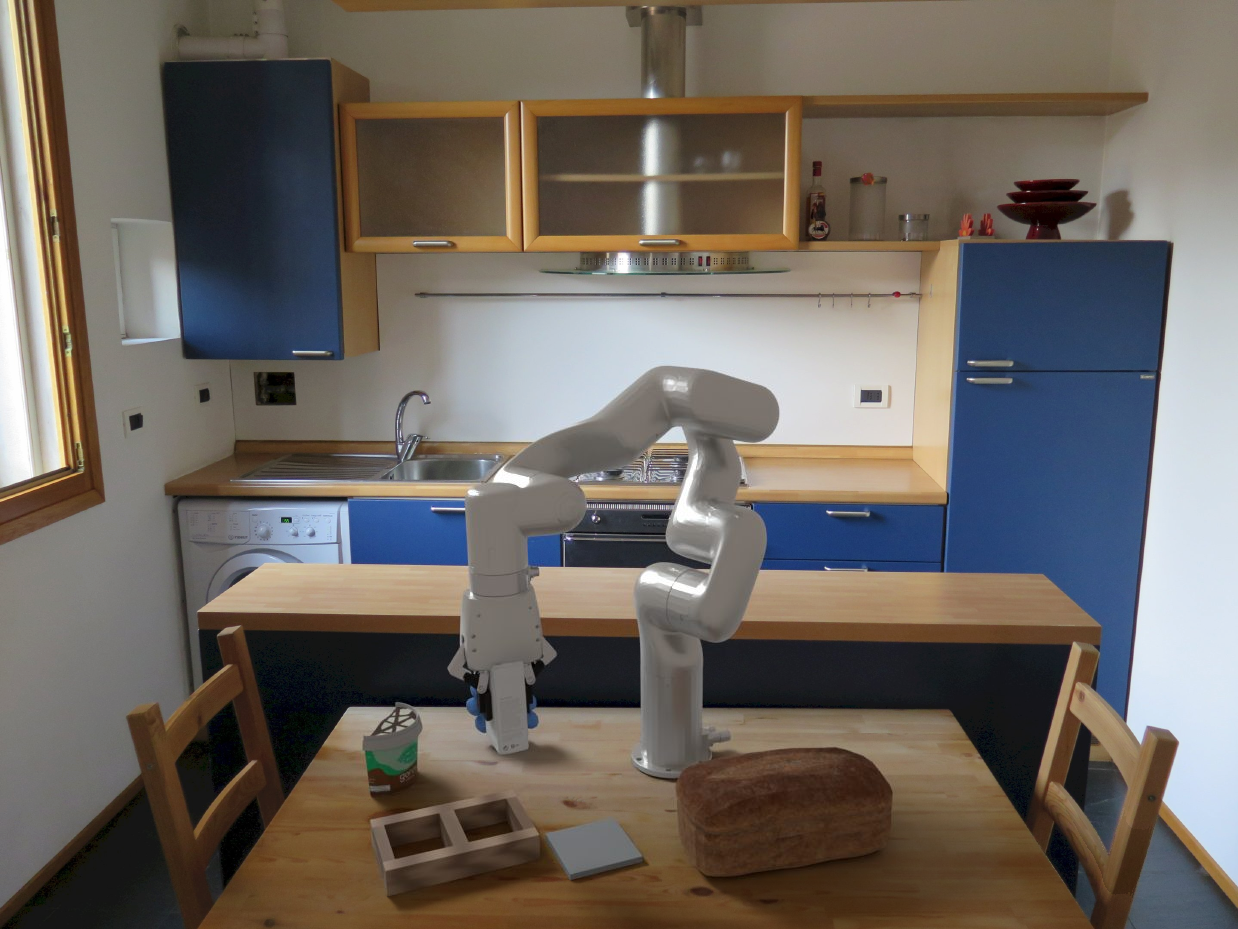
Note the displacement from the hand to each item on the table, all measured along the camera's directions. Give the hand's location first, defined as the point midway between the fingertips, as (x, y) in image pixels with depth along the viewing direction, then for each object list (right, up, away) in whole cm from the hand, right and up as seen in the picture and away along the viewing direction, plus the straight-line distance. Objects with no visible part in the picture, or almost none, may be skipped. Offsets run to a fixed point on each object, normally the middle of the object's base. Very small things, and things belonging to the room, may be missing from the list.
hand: (505, 711), depth 131 cm
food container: (-18, -16, +20) cm, 31 cm away
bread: (+37, -19, +3) cm, 41 cm away
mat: (+11, -19, +2) cm, 22 cm away
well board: (-7, -19, +2) cm, 20 cm away
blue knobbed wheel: (-4, -13, +31) cm, 34 cm away
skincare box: (0, -4, +1) cm, 5 cm away
